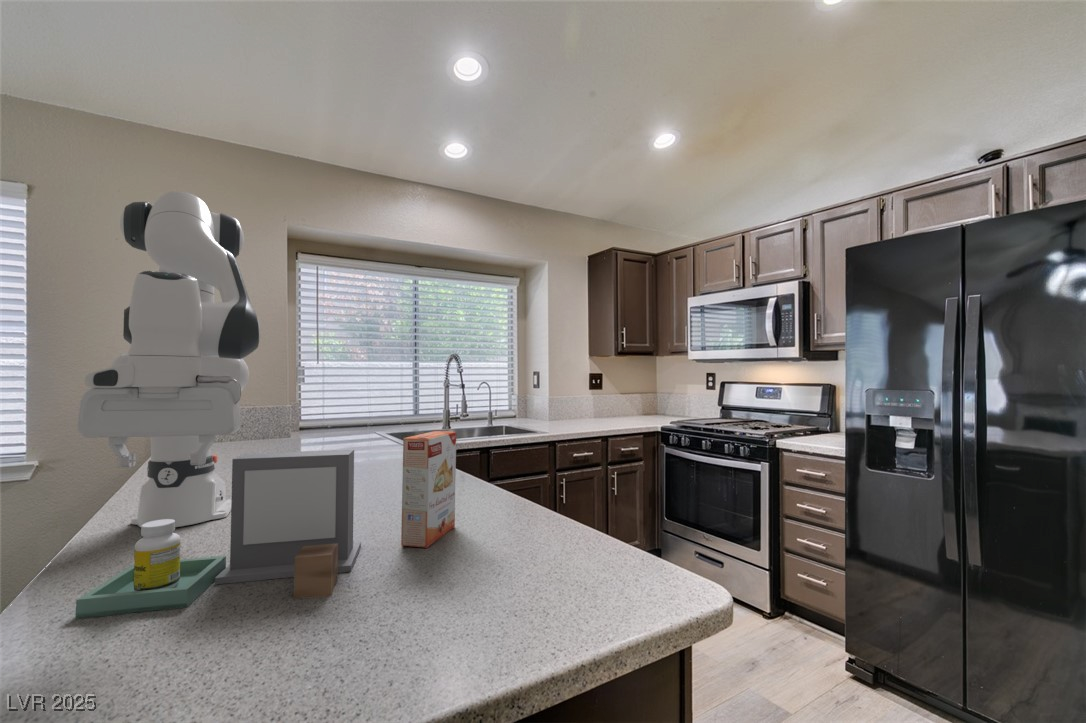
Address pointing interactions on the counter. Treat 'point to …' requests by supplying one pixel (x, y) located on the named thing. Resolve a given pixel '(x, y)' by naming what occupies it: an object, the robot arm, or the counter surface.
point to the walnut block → (315, 571)
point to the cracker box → (428, 487)
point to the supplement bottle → (157, 556)
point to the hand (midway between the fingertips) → (163, 465)
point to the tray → (123, 599)
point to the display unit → (289, 512)
